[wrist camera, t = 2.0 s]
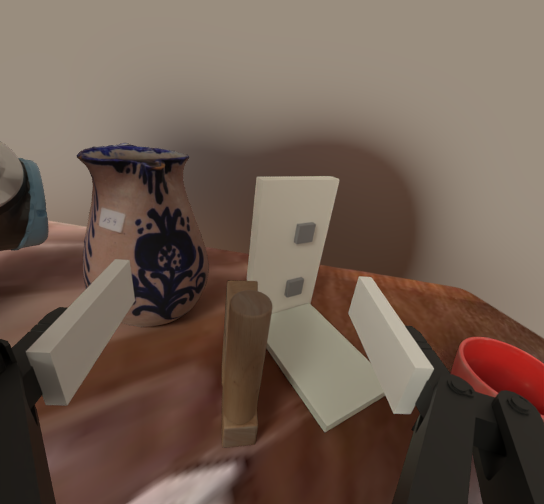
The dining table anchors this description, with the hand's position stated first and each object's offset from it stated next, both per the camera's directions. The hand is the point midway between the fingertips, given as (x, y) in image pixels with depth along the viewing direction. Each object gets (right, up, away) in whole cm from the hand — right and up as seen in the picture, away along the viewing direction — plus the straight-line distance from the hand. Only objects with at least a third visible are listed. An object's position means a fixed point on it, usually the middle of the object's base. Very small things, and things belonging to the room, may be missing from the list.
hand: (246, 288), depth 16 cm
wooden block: (-3, -16, +18) cm, 25 cm away
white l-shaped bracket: (+8, -13, +27) cm, 31 cm away
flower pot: (+27, -20, +19) cm, 39 cm away
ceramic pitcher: (-20, -7, +32) cm, 38 cm away
